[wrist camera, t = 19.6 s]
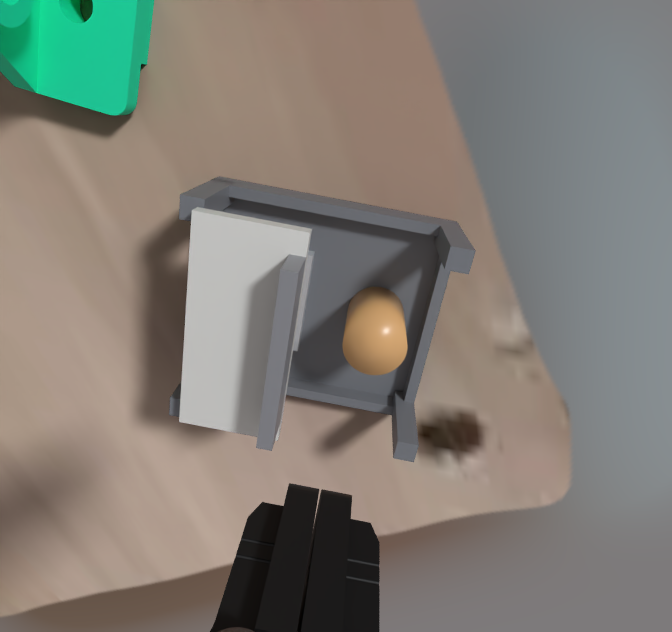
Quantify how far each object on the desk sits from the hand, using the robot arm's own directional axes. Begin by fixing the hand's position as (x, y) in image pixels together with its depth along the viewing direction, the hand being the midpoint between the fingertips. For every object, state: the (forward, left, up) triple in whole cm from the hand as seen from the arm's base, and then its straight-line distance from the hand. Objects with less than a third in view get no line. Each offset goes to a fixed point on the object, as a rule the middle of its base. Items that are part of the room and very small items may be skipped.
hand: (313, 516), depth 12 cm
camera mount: (-20, +11, -29) cm, 37 cm away
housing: (-2, -6, -29) cm, 30 cm away
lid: (-6, -6, -21) cm, 23 cm away
